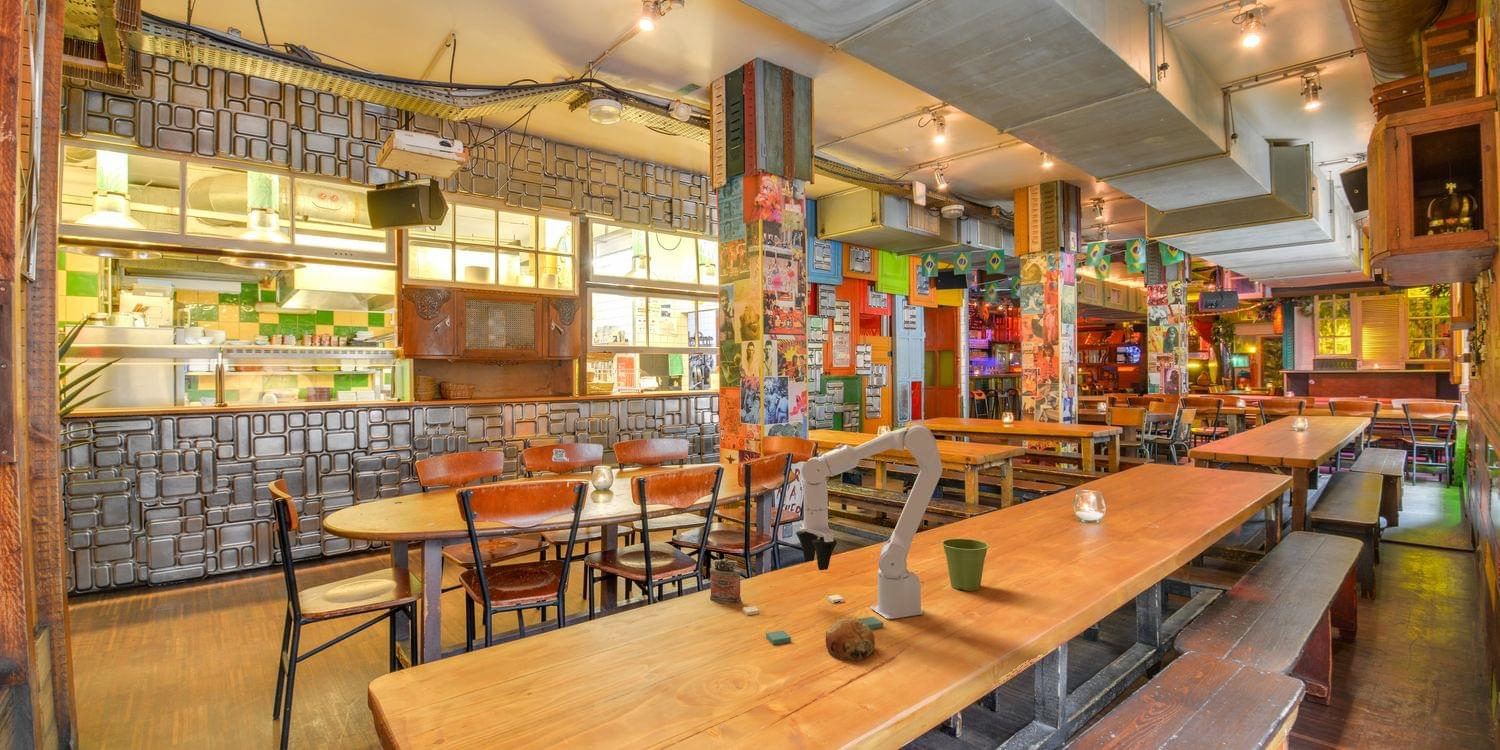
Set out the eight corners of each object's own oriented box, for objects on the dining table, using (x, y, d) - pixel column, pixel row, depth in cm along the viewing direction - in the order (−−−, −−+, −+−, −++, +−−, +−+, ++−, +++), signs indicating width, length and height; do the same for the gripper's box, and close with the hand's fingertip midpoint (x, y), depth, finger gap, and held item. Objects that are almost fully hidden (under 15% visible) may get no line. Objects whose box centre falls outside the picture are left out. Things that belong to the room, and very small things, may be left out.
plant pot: (999, 588, 172) (999, 544, 172) (969, 597, 165) (969, 552, 165) (961, 576, 182) (961, 535, 182) (931, 585, 175) (931, 542, 175)
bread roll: (875, 663, 138) (874, 621, 141) (875, 661, 129) (874, 617, 132) (826, 660, 139) (827, 619, 143) (823, 657, 130) (824, 614, 134)
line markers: (839, 597, 166) (839, 593, 166) (883, 627, 147) (883, 622, 147) (740, 611, 158) (740, 607, 158) (773, 644, 138) (773, 640, 138)
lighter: (707, 600, 165) (707, 560, 165) (713, 596, 168) (713, 556, 168) (737, 604, 162) (737, 563, 162) (743, 600, 165) (742, 559, 165)
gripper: (788, 503, 166) (788, 558, 166) (813, 515, 152) (814, 575, 152) (814, 501, 168) (814, 555, 168) (841, 513, 154) (841, 572, 154)
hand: (816, 565), depth 160 cm, fingers open, 7 cm apart
